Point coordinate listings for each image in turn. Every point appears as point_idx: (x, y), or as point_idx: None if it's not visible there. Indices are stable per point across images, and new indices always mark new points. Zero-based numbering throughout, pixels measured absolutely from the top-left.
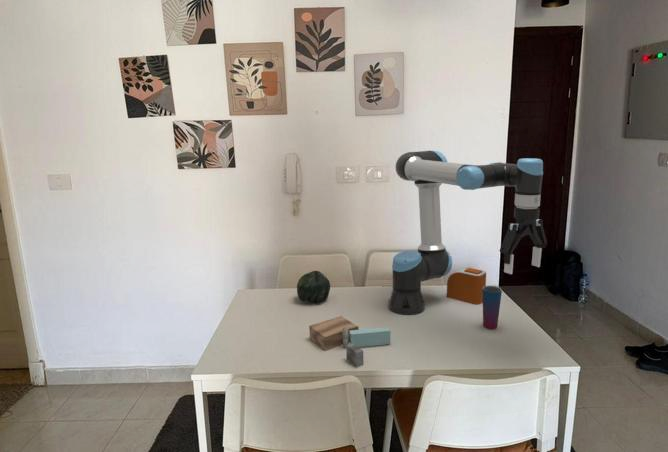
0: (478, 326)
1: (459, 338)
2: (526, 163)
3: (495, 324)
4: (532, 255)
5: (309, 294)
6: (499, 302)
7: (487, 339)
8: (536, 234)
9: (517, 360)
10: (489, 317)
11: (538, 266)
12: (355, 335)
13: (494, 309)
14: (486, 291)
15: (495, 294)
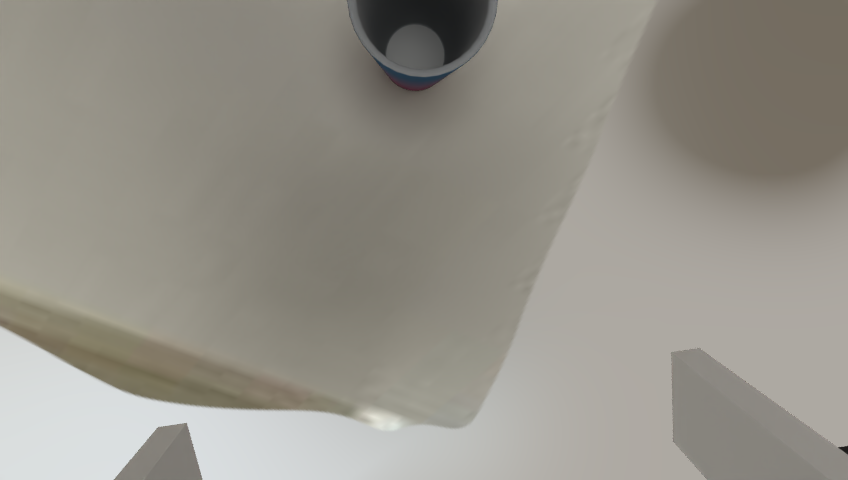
0: None
1: (201, 101)
2: None
3: (417, 89)
4: (771, 431)
5: None
6: (441, 78)
7: (316, 161)
8: None
9: (314, 342)
10: (385, 72)
11: (677, 445)
12: None
13: (403, 82)
14: (351, 19)
15: (399, 74)
